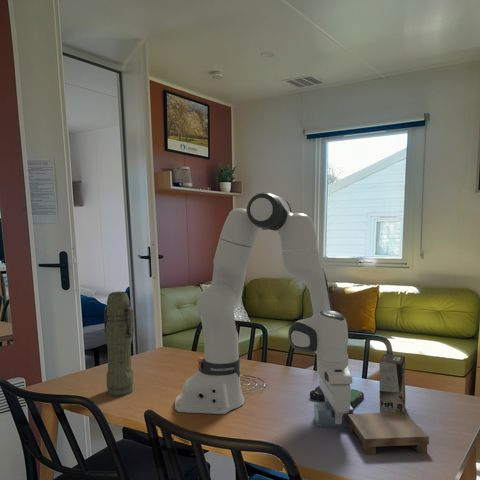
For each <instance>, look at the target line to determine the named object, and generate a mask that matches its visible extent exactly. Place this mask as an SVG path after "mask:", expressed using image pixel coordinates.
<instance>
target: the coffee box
mask: <svg viewBox="0 0 480 480" xmlns="http://www.w3.org/2000/svg"><path fill="white" fill-rule="evenodd" d="M405 409H406V356H405V355H398V354H388V353H384V354H383V356H382V357H381V359H380V360H379V413H391V412H405Z"/></svg>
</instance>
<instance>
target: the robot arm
mask: <svg viewBox="0 0 480 480" xmlns="http://www.w3.org/2000/svg"><path fill="white" fill-rule="evenodd" d="M261 230H262V231H264V230H266V231H267V230H270V231H275V232H277V234H278V235H279V238H280V247H281V248H280V249H281V259H282V264H283V268H284V271H286V273H287V274H289V276H291V277H292V278H294V279H296V280H299V281H300V282H302V283H303V284H305V286H306V287H307V289H308V292H309V296H310V301H311V306H312V316H310V317H308V318H303V319H302V318H301V319H300V320H297V321H295V322H293V323H291V324H290V326H289V329H288V332H287V333H288V334H287V335H288V341H289V344H290V346H291V348H293V349H294V350H295V351H296V352H299V353H305V354H306V353H315V354H316V364H317V365H316V373H317V375H318V376H319V377H318V384H319V385H318V386H320V388H321V390H322V392H323V393H324V397H325V402H329V403H330V404H331V406H332V407H333V409H334V411H335V416H334V422H335V423H336V424H341V423H342V416H343V414H345V413H348V412H349V410H350V400H351V385H352V384H353V376H352V373H351V371H350V365H349V355H348V346H349V331H348V330H349V329H348V322H347V320H346V317H345V316H344V314H342V313H340V312H339V311H335V310H334V309H333V305H332V299H331V294H330V290H329V284H328V279H327V275H326V272H325V270H324V268H323V267H322V264H321V259H320V255H319V247H318V240H317V239H318V238H317V234H316V229H315V225H314V221H313V219H312V218H311V216H309V215H308V214H305V213H302V212H292V208H291V205H290V203H289V202H288V201H287V200H286V199H285V198H283V197H281V196H280V195H278V194H275V193H270V192H260V193H257V194H255V195H254V196H252V197H251V198H250V200H249V201H248V203H247V206H246V208H245V207H243V208H241V207H238V208H234V209H231V210H230V212H229V213H228V216H227V217H226V219H225V221H224V224H223V227H222V229H221V232H220V235H219V239H218V243H217V247H216V249H215V250H216V251H215V254H214V257H213V261H212V262H213V271H212V278H211V279H212V280H211V282H210V285H209V286H207V287H205V288H204V289H203V290H201V292H200V294H199V296H198V298H197V301H196V309H197V312H198V314H199V316H200V322H201V326H202V330H203V339H204V341H203V342H204V345H203V346H204V357H202V356H200V357H198V359H197V363H198V370H197V371H196V372H195V373H194V374H193V375H191V376H190V377H188V378H187V379H186V380H185V382H184V383H183V386H182V389H181V393H179V394H178V395H177V396H176V398H175V401H174V409H175V410H176V412H179V413H191V414H192V413H193V414H213V415H216V414H217V415H225V414H227V413H228V412H230V411H232V410H236V409H238V408H241V406H243V405H244V403H245V398H244V395H243V391H242V386H241V379H240V376H241V370H242V368H241V358H240V357H239V333H238V331H237V327H236V320H235V310H236V309H237V308H238V307H239V306H240V303H241V301H242V296H243V293H244V285H245V279H246V274H247V268H248V266H249V261H250V258H251V254H252V251H253V247H254V243H255V239H256V236H257V235H258V232H260V231H261Z"/></svg>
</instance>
